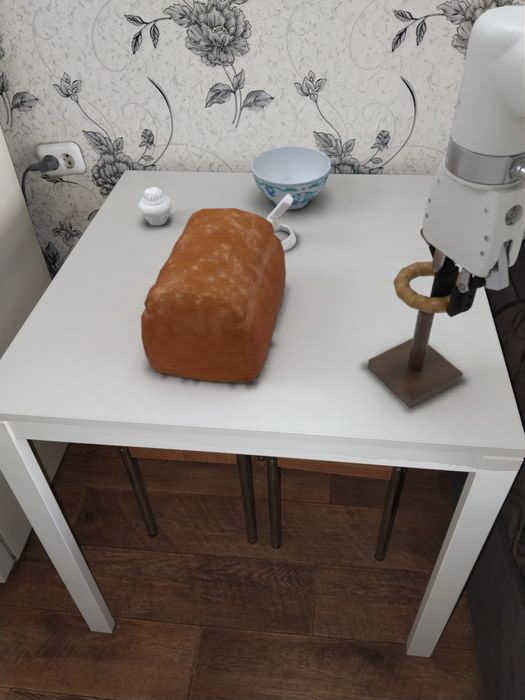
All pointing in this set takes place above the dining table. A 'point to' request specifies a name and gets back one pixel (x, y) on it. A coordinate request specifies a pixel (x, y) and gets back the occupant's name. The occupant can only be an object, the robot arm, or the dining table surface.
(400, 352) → the stand
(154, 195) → the muffin
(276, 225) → the hook
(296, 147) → the chinaware
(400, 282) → the ring
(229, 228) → the bread
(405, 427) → the dining table surface
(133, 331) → the dining table surface
